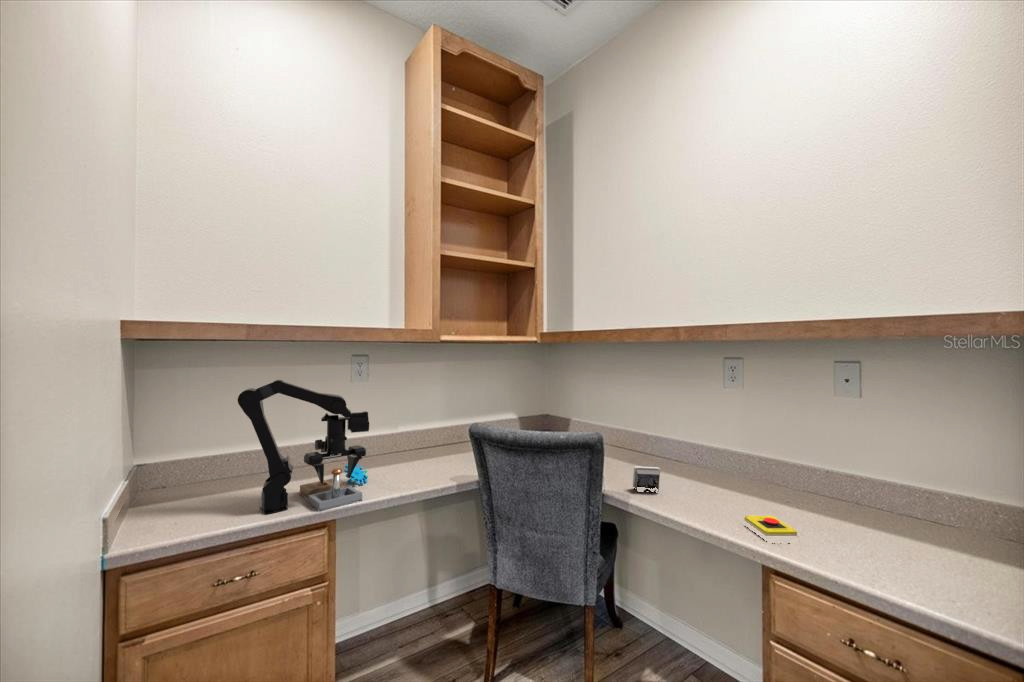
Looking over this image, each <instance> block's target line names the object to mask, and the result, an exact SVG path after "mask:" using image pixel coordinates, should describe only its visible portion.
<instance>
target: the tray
mask: <svg viewBox="0 0 1024 682" xmlns="http://www.w3.org/2000/svg"><path fill="white" fill-rule="evenodd" d="M361 500H362V501H363V492H361V491H359V490H357V489H355V488H354V487H352V486H350V485H349V486H345V487H344V486H343V488H340V494H339V497H338V498H334V499H332V490H330V491H325V492H321V493H316V494H312V495H308V499H307V504H309V505H310V504H311V505H310V506H311V507H313V508H314V507H315V508H314V509H315V510H317V509H318V510H319V511H318V510H317V511H318V512H323V511H326V509H327V510H329V509H335V508H338V507H342V505H343V506H347V505H350V504H349V503H351V504H354V503H353V502H355V503H358V502H357V501H359V502H362V501H361ZM346 504H347V505H346ZM334 507H335V508H334ZM322 510H323V511H322Z"/></svg>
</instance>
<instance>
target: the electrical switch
mask: <svg viewBox="0 0 1024 682" xmlns="http://www.w3.org/2000/svg"><path fill="white" fill-rule="evenodd" d="M660 475H661V468H660V467H657V466H638V465H637V466H636V465H635V466H634V467H633V474H632V488H633V487H635V488H636V490H637V487H645V488H650V489H651V488H652V489H653V488H655V487H656V488H657V489H658V491H659V490H660ZM636 490H635V491H636Z"/></svg>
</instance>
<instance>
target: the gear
mask: <svg viewBox="0 0 1024 682" xmlns="http://www.w3.org/2000/svg"><path fill="white" fill-rule="evenodd" d="M358 465H359V464H358V463H357V465H356V466H355V468H354V470H353V473H352V475H351V477H350V478H348V476H347V471H348V463H347V464H346V465H345V466H344V467H345V469H344V471H343V472H344V473H346V474H345V477H346V478H348V480H347V484H351V483H353V482H354V481H355V482H354V485H355V486H359V485H360V486H364V485H365V484H366V483H368V479H369V475H367V473H368V471H369V470H368V469H365V470H363V469H364V467H363V466H361V465H360V466H359V467H358ZM363 484H364V485H363Z"/></svg>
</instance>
